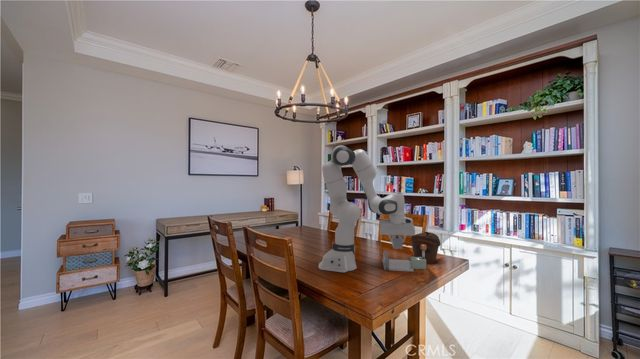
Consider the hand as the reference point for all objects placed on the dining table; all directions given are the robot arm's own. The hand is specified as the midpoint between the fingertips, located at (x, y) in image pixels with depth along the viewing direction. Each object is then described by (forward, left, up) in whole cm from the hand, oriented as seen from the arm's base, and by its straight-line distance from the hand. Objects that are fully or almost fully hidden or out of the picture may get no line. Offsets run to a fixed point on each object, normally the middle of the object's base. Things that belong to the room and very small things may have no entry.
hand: (397, 242), depth 161 cm
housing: (0, 0, -3) cm, 3 cm away
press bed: (0, 0, -14) cm, 14 cm away
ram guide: (+12, 0, -14) cm, 19 cm away
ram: (+13, 0, -11) cm, 17 cm away
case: (+19, +15, -15) cm, 28 cm away
